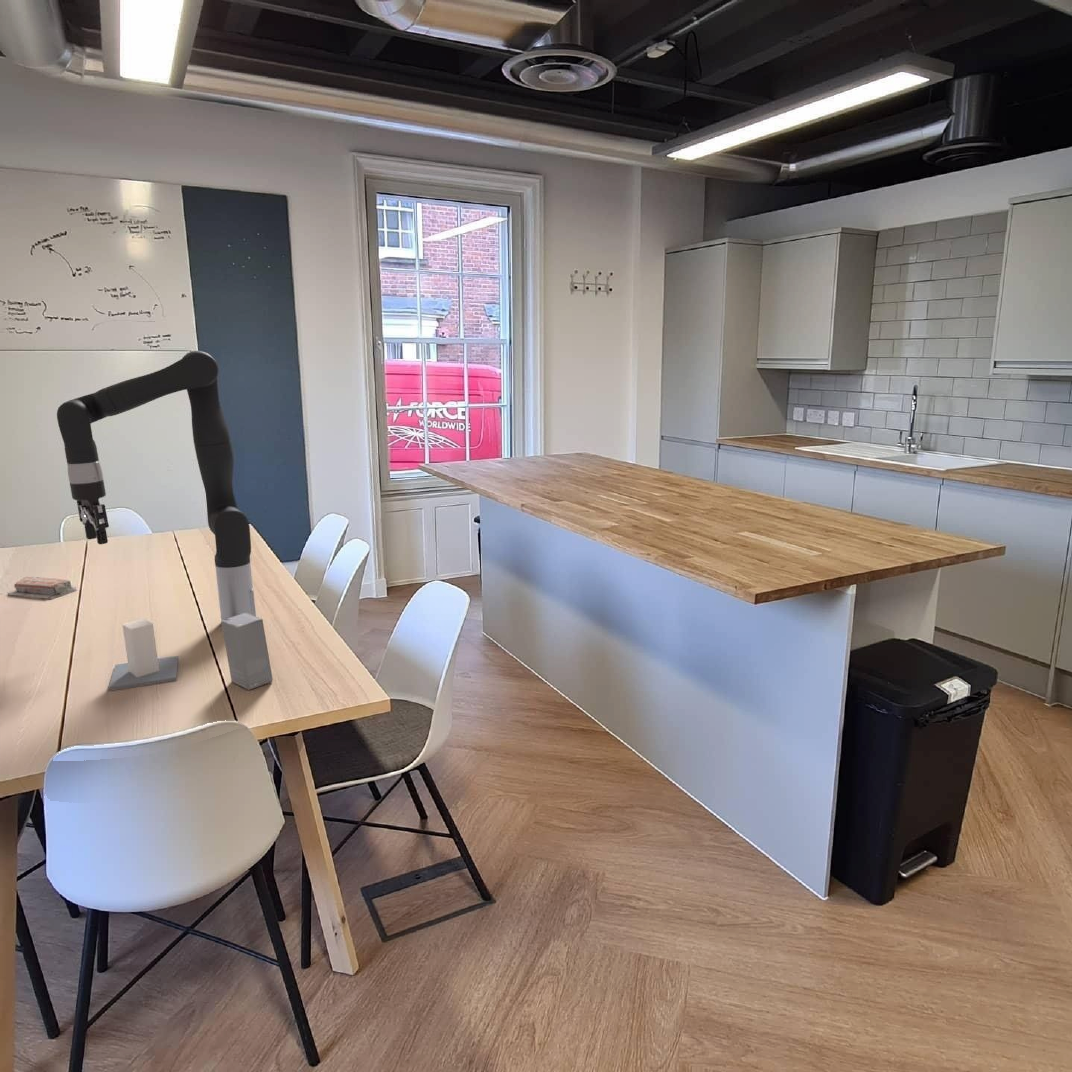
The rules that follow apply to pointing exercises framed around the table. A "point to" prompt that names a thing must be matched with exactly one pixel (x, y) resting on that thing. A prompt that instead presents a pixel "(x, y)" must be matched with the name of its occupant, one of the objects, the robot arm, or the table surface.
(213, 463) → the robot arm
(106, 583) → the table surface
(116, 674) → the grey mat
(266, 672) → the skincare box
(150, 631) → the cream block
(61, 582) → the packaged product
